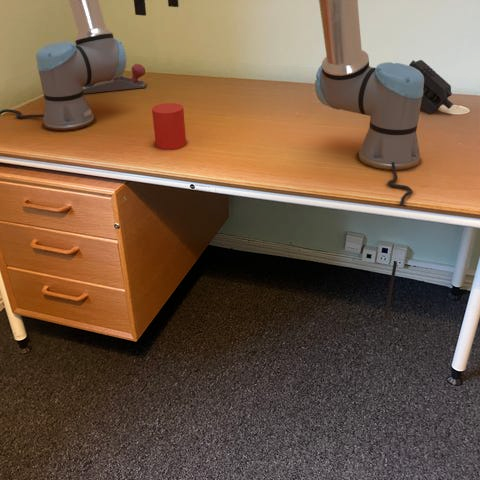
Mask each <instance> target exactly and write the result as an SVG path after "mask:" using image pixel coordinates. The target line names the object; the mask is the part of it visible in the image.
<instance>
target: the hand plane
mask: <svg viewBox="0 0 480 480" xmlns="http://www.w3.org/2000/svg"><path fill="white" fill-rule="evenodd" d="M131 73H132V76H131V78H130V77H126V76H123V75H122V76H121V77H119V78H116V79H112V80H111V81H104V82H99V83H95V84H90V85H85V86H82V87H83V93H84V95H85V94H94V93H104V92H112V91H113V92H114V91H121V90H132V89H142V88H146V83H145V81H143V80H139V78H142V77H144V76H145V75H146V68H145V66H143V65H141V64H139V63H134V64H133V65H132V66H131Z"/></svg>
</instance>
